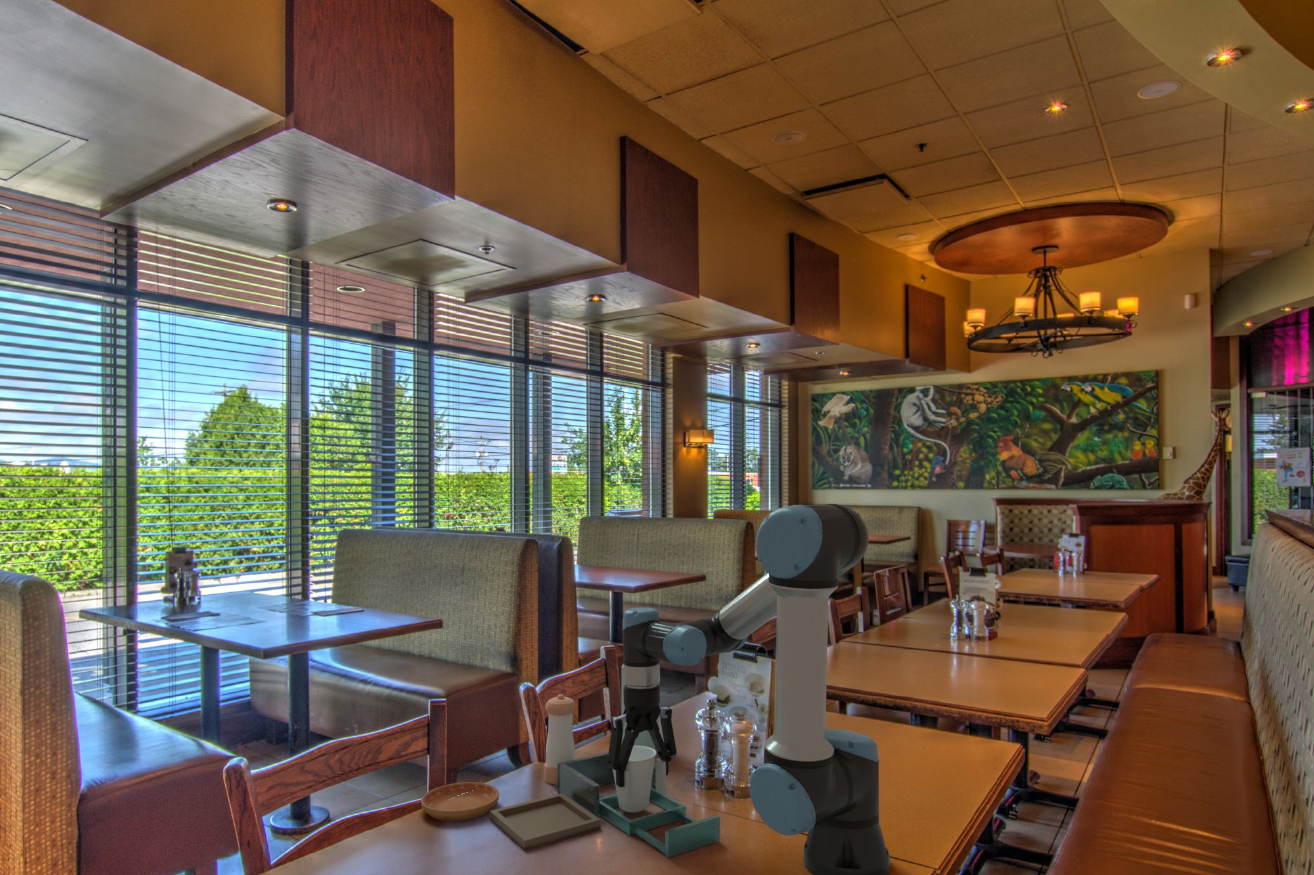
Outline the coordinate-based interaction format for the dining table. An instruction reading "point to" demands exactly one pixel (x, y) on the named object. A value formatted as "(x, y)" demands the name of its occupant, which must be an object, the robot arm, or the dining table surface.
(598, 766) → the cubby
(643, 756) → the cup
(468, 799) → the saucer
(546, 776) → the pepper shaker
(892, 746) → the dining table surface
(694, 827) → the caddy
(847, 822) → the robot arm
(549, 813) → the tray
